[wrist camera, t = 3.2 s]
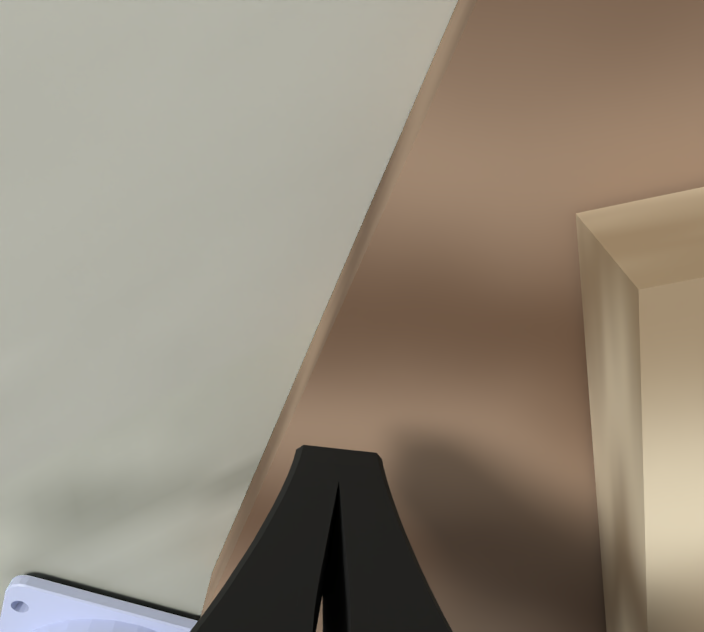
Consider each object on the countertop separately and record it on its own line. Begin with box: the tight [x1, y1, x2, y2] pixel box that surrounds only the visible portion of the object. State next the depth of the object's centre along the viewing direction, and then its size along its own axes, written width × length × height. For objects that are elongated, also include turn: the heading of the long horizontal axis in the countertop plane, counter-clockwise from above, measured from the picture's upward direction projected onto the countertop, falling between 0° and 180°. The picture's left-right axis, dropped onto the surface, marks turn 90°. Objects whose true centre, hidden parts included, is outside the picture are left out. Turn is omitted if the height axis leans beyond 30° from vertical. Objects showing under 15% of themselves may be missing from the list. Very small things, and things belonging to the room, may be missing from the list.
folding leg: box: [576, 187, 704, 632], centre depth 13 cm, size 17×3×4 cm, turn 13°
